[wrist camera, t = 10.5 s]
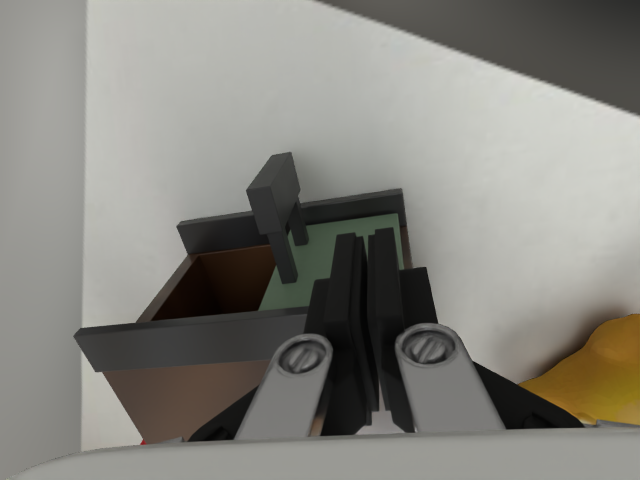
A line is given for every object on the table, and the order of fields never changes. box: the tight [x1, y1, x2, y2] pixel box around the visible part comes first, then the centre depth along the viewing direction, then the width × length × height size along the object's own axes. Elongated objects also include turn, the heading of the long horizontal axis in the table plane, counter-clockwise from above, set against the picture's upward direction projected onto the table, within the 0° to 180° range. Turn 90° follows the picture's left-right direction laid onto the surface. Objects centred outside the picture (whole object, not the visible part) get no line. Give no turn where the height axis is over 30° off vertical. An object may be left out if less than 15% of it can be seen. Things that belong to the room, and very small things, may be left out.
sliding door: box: [246, 152, 404, 311], centre depth 22 cm, size 7×6×10 cm
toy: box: [517, 314, 640, 425], centre depth 30 cm, size 11×6×15 cm
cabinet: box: [73, 189, 413, 445], centre depth 26 cm, size 16×12×12 cm
